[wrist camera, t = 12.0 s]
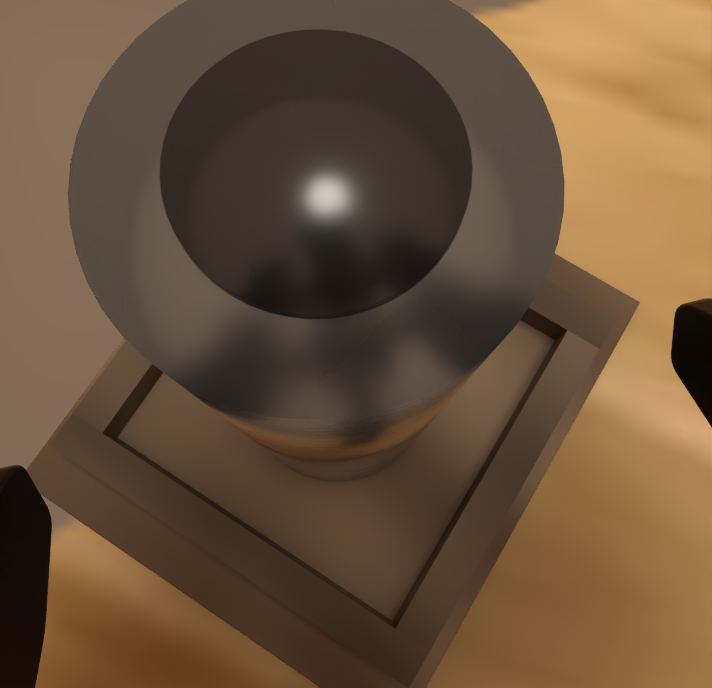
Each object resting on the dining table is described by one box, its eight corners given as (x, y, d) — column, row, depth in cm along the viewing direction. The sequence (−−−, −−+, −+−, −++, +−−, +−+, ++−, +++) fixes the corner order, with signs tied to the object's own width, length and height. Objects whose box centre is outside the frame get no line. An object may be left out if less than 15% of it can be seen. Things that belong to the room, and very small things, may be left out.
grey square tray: (396, 734, 18) (400, 756, 17) (26, 480, 20) (-2, 477, 18) (634, 306, 21) (657, 289, 19) (295, 111, 22) (291, 81, 21)
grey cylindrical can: (426, 485, 19) (581, 426, 6) (241, 478, 19) (23, 405, 6) (428, 307, 20) (561, -39, 8) (254, 301, 20) (95, -57, 8)
